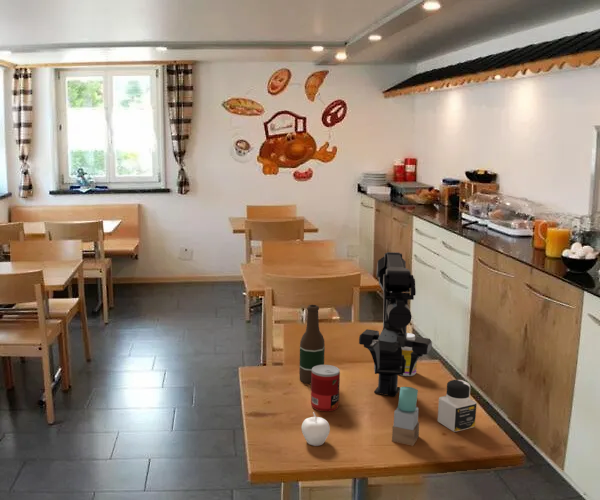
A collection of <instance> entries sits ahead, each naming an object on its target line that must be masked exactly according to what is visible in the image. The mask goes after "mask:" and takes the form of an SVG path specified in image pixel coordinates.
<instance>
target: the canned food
mask: <svg viewBox="0 0 600 500" xmlns="http://www.w3.org/2000/svg"><path fill="white" fill-rule="evenodd" d="M340 370H341V369H340V368H338V367H337V366H336V365H335V366H334V365H332V364H331V365H330V364H324V365H317V366H314V367H313V368H312V374H311V384H310V386H311V387H310V389H311V390H310V392H311V393H310V395H311V396H310V404H311V407H312V408H313V409H314V410H317V411H319V412H333V411H335V410H337V409H338V407H339V404H340V379H341V378H340V377H341V371H340Z"/></svg>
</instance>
